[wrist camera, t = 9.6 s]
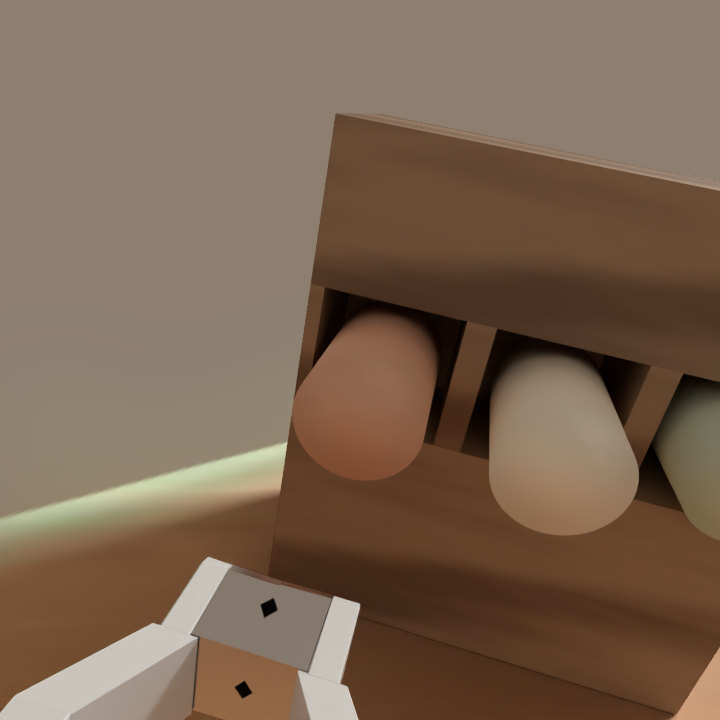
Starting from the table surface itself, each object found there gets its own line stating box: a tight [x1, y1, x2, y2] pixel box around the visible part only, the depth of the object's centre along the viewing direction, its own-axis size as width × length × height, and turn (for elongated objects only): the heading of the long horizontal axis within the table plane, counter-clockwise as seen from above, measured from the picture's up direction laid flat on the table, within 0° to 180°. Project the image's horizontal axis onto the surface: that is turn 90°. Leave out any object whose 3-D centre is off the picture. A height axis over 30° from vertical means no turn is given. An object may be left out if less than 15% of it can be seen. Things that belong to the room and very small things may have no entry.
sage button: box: [651, 373, 720, 540], centre depth 20 cm, size 6×4×4 cm, turn 168°
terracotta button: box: [292, 300, 442, 481], centre depth 20 cm, size 6×4×4 cm, turn 168°
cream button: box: [489, 338, 639, 536], centre depth 19 cm, size 6×4×4 cm, turn 168°
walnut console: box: [268, 113, 720, 715], centre depth 24 cm, size 8×18×20 cm, turn 78°
